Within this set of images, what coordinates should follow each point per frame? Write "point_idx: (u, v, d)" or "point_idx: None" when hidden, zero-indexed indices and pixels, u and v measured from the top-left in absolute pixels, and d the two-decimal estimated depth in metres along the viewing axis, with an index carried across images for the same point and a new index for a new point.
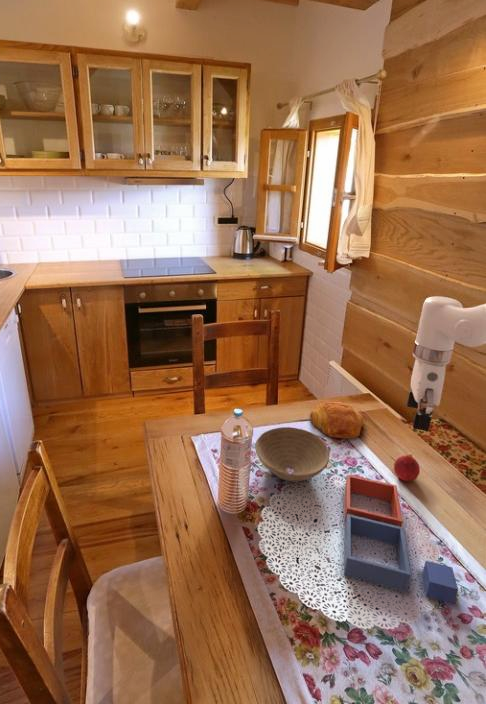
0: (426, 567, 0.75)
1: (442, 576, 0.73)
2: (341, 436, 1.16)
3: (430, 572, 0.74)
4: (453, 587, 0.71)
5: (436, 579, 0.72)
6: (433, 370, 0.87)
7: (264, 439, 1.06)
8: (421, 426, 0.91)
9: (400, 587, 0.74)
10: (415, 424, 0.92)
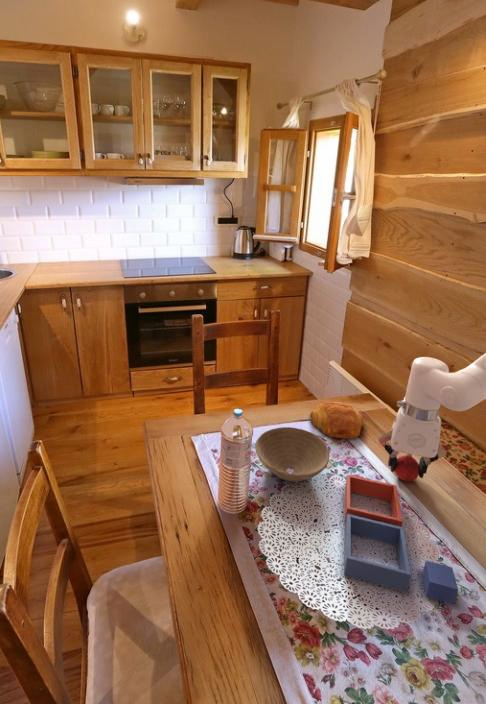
0: (426, 567, 0.75)
1: (442, 576, 0.73)
2: (341, 436, 1.16)
3: (430, 572, 0.74)
4: (453, 587, 0.71)
5: (436, 579, 0.72)
6: (397, 414, 0.97)
7: (264, 439, 1.06)
8: (388, 462, 1.02)
9: (400, 587, 0.74)
10: None
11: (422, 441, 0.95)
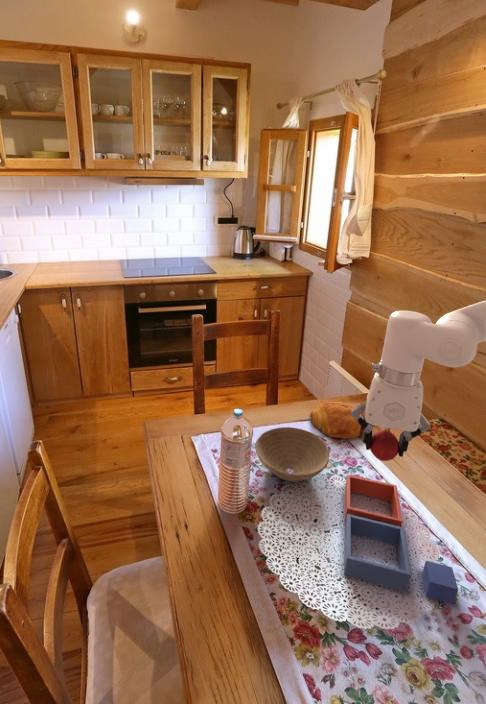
0: (426, 567, 0.75)
1: (442, 576, 0.73)
2: (341, 436, 1.16)
3: (430, 572, 0.74)
4: (453, 587, 0.71)
5: (436, 579, 0.72)
6: (372, 380, 0.82)
7: (264, 439, 1.06)
8: (363, 439, 0.87)
9: (400, 587, 0.74)
10: None
11: (401, 411, 0.79)
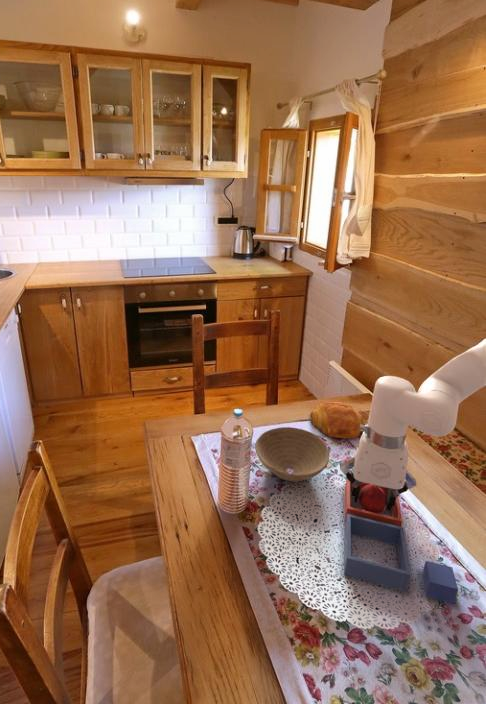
0: (426, 567, 0.75)
1: (442, 576, 0.73)
2: (341, 436, 1.16)
3: (430, 572, 0.74)
4: (453, 587, 0.71)
5: (436, 579, 0.72)
6: (360, 439, 0.86)
7: (264, 439, 1.06)
8: (351, 492, 0.91)
9: (400, 587, 0.74)
10: None
11: (387, 471, 0.84)
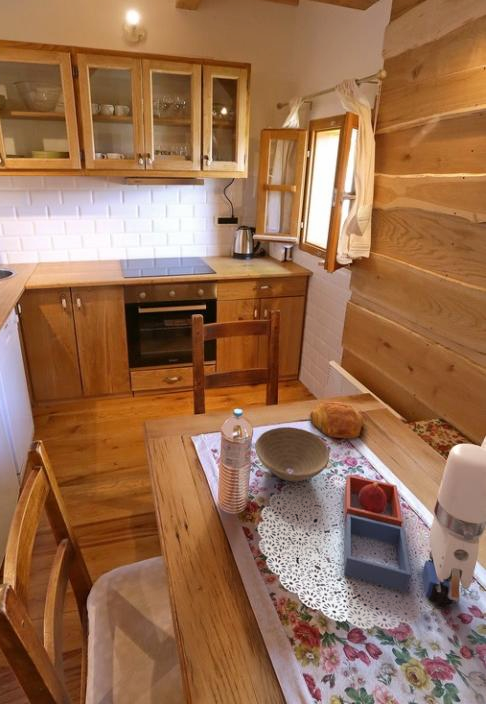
0: (426, 567, 0.75)
1: None
2: (341, 436, 1.16)
3: (430, 572, 0.74)
4: None
5: (436, 579, 0.72)
6: (462, 547, 0.65)
7: (264, 439, 1.06)
8: (441, 604, 0.71)
9: (400, 587, 0.74)
10: (433, 599, 0.72)
11: None
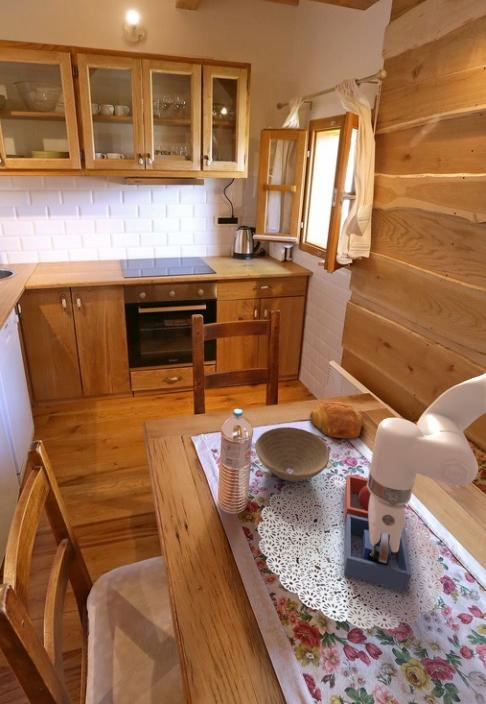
0: (364, 536, 0.80)
1: None
2: (341, 436, 1.16)
3: (367, 539, 0.79)
4: None
5: (371, 546, 0.78)
6: (389, 512, 0.71)
7: (264, 439, 1.06)
8: None
9: (400, 587, 0.74)
10: None
11: None
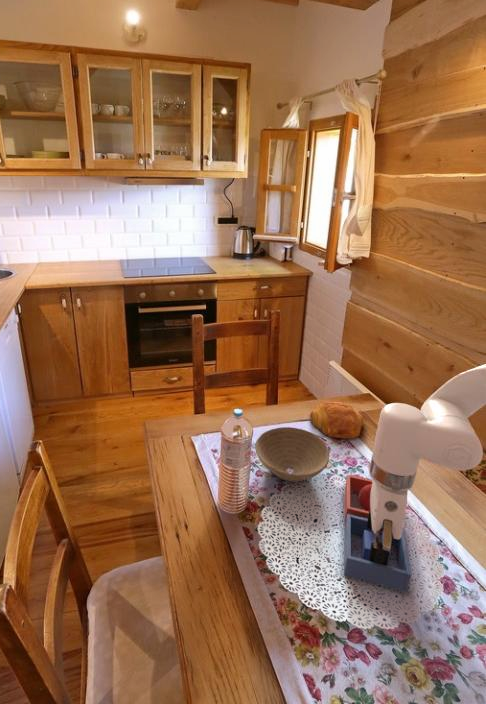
0: (364, 536, 0.80)
1: None
2: (341, 436, 1.16)
3: (367, 539, 0.79)
4: None
5: (370, 546, 0.78)
6: (392, 499, 0.69)
7: (264, 439, 1.06)
8: (378, 560, 0.74)
9: (400, 587, 0.74)
10: (371, 556, 0.75)
11: None
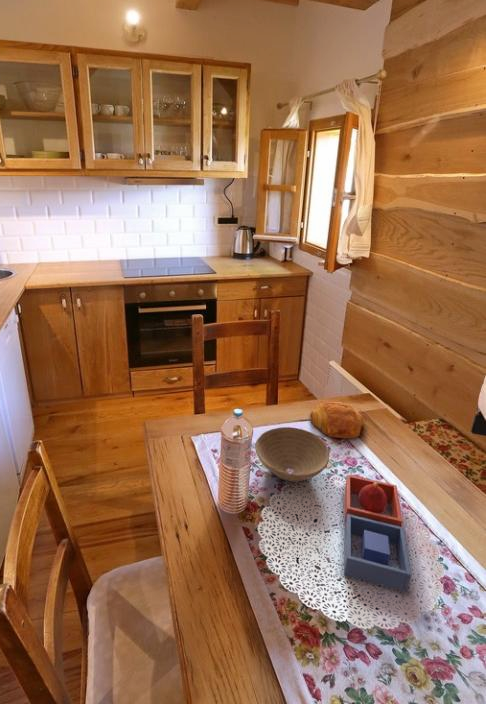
0: (364, 536, 0.80)
1: (377, 543, 0.78)
2: (341, 436, 1.16)
3: (367, 539, 0.79)
4: (385, 553, 0.76)
5: (370, 546, 0.78)
6: None
7: (264, 439, 1.06)
8: None
9: (400, 587, 0.74)
10: None
11: None
